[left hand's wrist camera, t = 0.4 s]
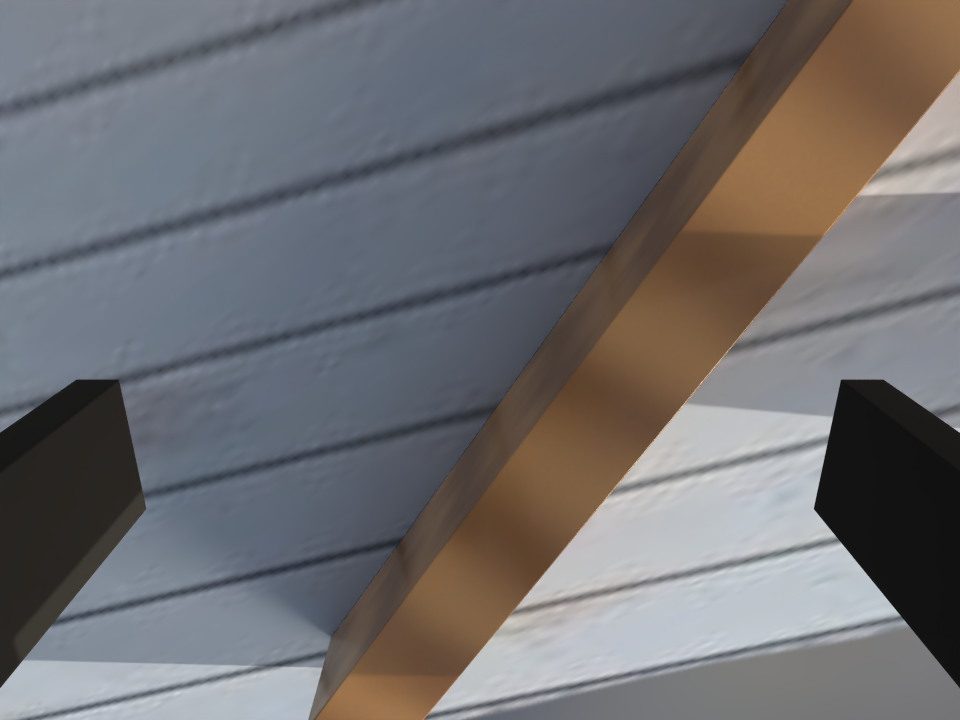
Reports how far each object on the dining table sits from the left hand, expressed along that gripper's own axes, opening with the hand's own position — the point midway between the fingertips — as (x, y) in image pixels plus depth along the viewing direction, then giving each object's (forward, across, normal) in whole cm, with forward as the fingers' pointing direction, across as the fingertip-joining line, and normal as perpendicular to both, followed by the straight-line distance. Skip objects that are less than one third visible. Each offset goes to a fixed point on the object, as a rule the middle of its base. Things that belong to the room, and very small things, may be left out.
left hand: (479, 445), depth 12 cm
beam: (+27, +11, -1) cm, 29 cm away
